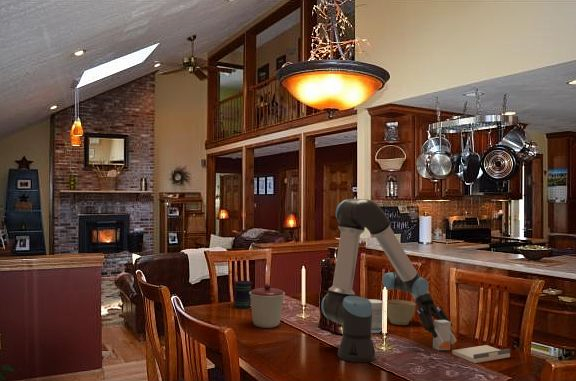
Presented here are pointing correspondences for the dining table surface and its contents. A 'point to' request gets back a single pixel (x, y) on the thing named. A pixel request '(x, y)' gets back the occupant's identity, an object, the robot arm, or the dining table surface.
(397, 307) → the planter bowl
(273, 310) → the canister
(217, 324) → the dining table surface
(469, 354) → the flat cream box
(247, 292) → the storage jar
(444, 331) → the skincare box
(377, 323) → the supplement tub
